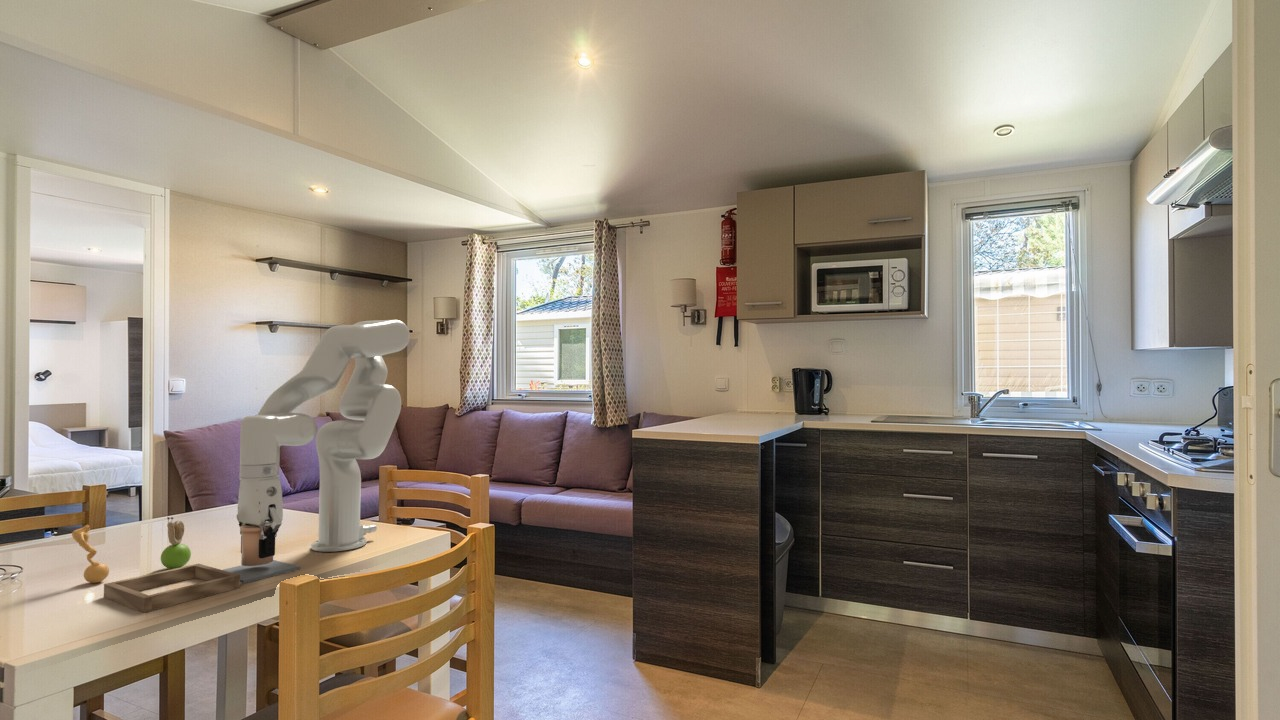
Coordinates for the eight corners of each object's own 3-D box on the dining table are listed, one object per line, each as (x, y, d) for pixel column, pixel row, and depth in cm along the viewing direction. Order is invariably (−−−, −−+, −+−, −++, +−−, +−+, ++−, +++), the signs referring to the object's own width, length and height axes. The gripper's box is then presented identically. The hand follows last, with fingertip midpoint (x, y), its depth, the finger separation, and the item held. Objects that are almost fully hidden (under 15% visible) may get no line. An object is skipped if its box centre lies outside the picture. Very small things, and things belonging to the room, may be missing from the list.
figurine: (111, 584, 130) (113, 525, 130) (72, 591, 125) (74, 530, 126) (105, 576, 135) (107, 519, 136) (67, 582, 131) (69, 523, 131)
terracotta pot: (264, 556, 143) (265, 520, 144) (281, 560, 140) (282, 523, 140) (232, 563, 137) (233, 525, 138) (249, 568, 134) (250, 529, 134)
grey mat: (269, 561, 147) (269, 558, 147) (299, 569, 141) (300, 566, 141) (212, 574, 136) (212, 571, 136) (243, 583, 130) (243, 580, 130)
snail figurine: (153, 574, 137) (155, 517, 137) (166, 566, 143) (168, 512, 144) (182, 572, 138) (184, 516, 139) (194, 564, 145) (196, 511, 145)
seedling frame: (198, 575, 136) (198, 563, 136) (240, 587, 128) (240, 574, 128) (103, 597, 122) (104, 584, 122) (143, 612, 114) (144, 598, 114)
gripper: (299, 472, 138) (297, 556, 138) (255, 467, 147) (253, 545, 146) (264, 476, 132) (262, 564, 131) (220, 471, 141) (218, 553, 140)
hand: (257, 553), depth 139 cm, fingers open, 6 cm apart
